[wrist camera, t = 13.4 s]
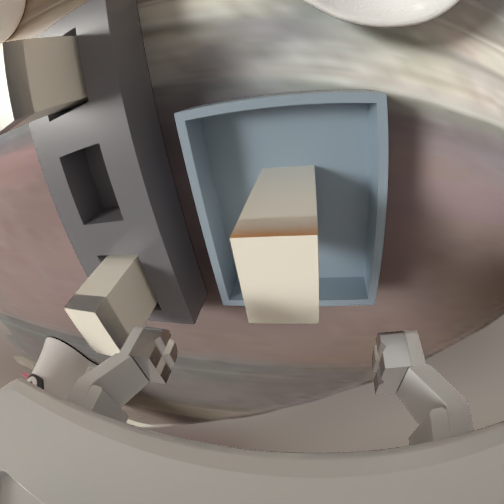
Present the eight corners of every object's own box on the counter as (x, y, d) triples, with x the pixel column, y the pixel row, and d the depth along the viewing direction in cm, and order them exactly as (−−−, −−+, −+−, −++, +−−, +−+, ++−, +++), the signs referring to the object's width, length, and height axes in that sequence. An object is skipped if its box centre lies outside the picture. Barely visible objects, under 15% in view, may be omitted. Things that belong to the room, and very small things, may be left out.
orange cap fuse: (318, 230, 21) (318, 323, 14) (271, 232, 22) (248, 322, 14) (314, 165, 18) (317, 234, 11) (262, 168, 19) (229, 238, 12)
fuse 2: (167, 284, 27) (126, 359, 19) (138, 283, 28) (94, 351, 20) (150, 239, 24) (94, 312, 17) (120, 241, 25) (63, 307, 18)
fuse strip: (207, 294, 28) (194, 324, 25) (126, 290, 30) (109, 315, 27) (136, -1, 13) (104, -9, 10) (48, 49, 16) (16, 54, 12)
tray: (369, 275, 23) (374, 304, 20) (232, 278, 26) (223, 305, 23) (372, 89, 15) (386, 93, 12) (194, 106, 18) (173, 113, 15)
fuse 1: (107, 92, 17) (14, 120, 10) (76, 105, 18) (-11, 140, 10) (97, 35, 14) (2, 42, 7) (66, 53, 15) (-23, 70, 8)
